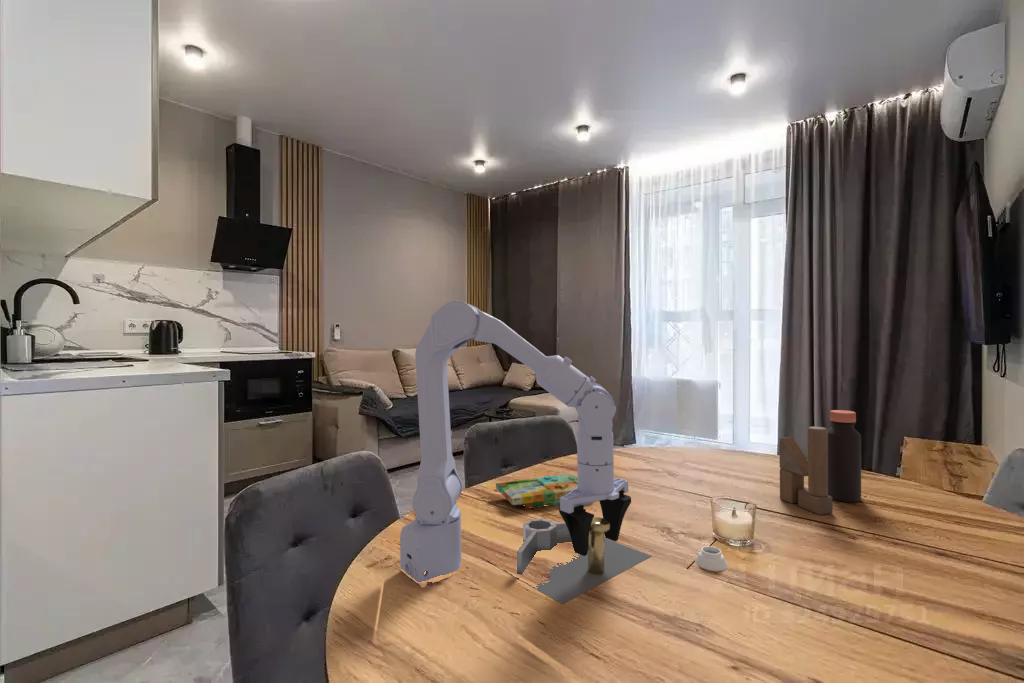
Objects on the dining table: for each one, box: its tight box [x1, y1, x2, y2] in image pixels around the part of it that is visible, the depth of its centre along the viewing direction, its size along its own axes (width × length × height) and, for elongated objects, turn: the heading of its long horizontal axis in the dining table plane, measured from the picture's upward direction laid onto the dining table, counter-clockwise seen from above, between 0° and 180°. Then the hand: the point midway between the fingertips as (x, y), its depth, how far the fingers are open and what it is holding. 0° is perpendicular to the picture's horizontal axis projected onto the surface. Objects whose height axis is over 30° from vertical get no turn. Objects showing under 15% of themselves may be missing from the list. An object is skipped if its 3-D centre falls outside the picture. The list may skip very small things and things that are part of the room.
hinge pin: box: [588, 516, 610, 575], centre depth 77 cm, size 4×4×8 cm
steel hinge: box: [517, 518, 572, 575], centre depth 84 cm, size 18×13×4 cm
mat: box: [532, 537, 653, 605], centre depth 82 cm, size 22×20×1 cm
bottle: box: [827, 409, 862, 503], centre depth 111 cm, size 7×7×20 cm
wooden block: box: [779, 426, 834, 516], centre depth 106 cm, size 4×11×18 cm, turn 14°
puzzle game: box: [495, 473, 578, 509], centre depth 112 cm, size 12×5×20 cm
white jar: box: [694, 545, 729, 572], centre depth 79 cm, size 5×3×5 cm
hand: (596, 546), depth 77 cm, fingers open, 7 cm apart
